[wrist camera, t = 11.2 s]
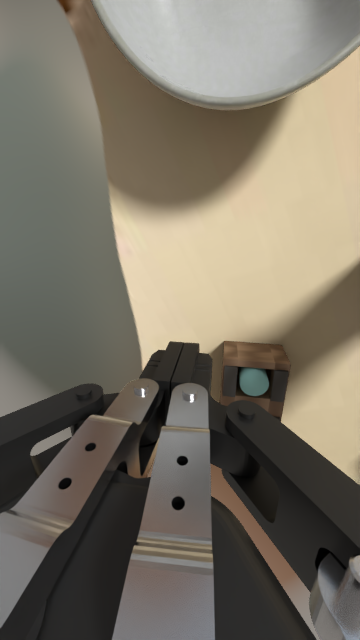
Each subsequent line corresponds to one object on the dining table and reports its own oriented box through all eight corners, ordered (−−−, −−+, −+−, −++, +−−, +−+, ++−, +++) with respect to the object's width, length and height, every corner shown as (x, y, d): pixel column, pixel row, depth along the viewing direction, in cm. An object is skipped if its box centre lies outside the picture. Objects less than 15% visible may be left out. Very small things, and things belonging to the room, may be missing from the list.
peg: (264, 353, 41) (270, 373, 35) (261, 375, 42) (267, 397, 37) (239, 351, 41) (241, 370, 36) (237, 373, 43) (238, 394, 37)
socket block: (281, 345, 40) (291, 366, 34) (269, 420, 46) (276, 449, 40) (224, 340, 42) (223, 360, 36) (219, 414, 47) (218, 442, 41)
